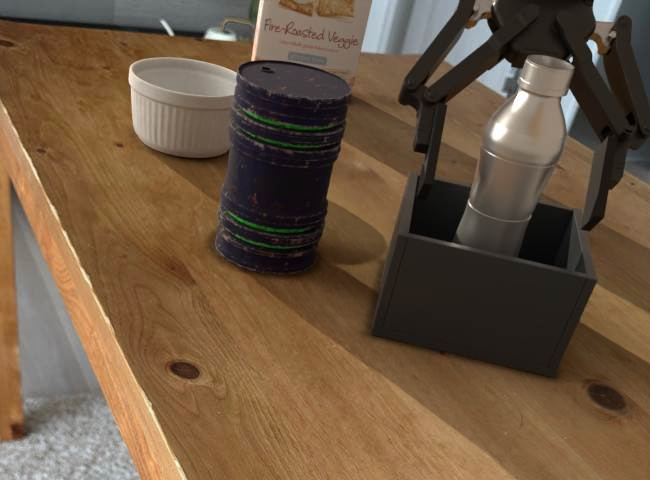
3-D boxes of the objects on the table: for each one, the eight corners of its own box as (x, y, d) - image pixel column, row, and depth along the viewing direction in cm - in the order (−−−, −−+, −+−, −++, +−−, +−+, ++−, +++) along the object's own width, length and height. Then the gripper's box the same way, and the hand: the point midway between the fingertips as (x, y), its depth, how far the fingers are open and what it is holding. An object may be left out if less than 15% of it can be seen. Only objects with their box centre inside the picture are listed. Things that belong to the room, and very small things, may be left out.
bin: (544, 299, 83) (582, 209, 77) (553, 377, 73) (598, 280, 67) (384, 262, 84) (409, 170, 78) (370, 334, 73) (398, 234, 67)
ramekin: (102, 126, 99) (104, 59, 95) (191, 114, 107) (198, 52, 102) (174, 171, 93) (180, 101, 88) (264, 155, 100) (274, 90, 96)
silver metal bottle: (413, 298, 78) (489, 50, 64) (460, 283, 81) (541, 46, 68) (468, 333, 74) (560, 80, 61) (515, 315, 78) (611, 73, 65)
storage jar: (336, 254, 84) (374, 87, 74) (282, 286, 77) (316, 107, 67) (251, 217, 87) (276, 53, 77) (192, 245, 81) (211, 69, 71)
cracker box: (250, 89, 118) (276, -100, 103) (248, 75, 122) (273, -108, 108) (351, 104, 119) (391, -80, 105) (346, 90, 124) (383, -88, 110)
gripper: (680, 12, 74) (639, 254, 73) (392, -44, 74) (347, 198, 73) (731, -52, 67) (686, 218, 66) (410, -114, 66) (361, 155, 65)
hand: (508, 208), depth 69 cm, fingers open, 13 cm apart
